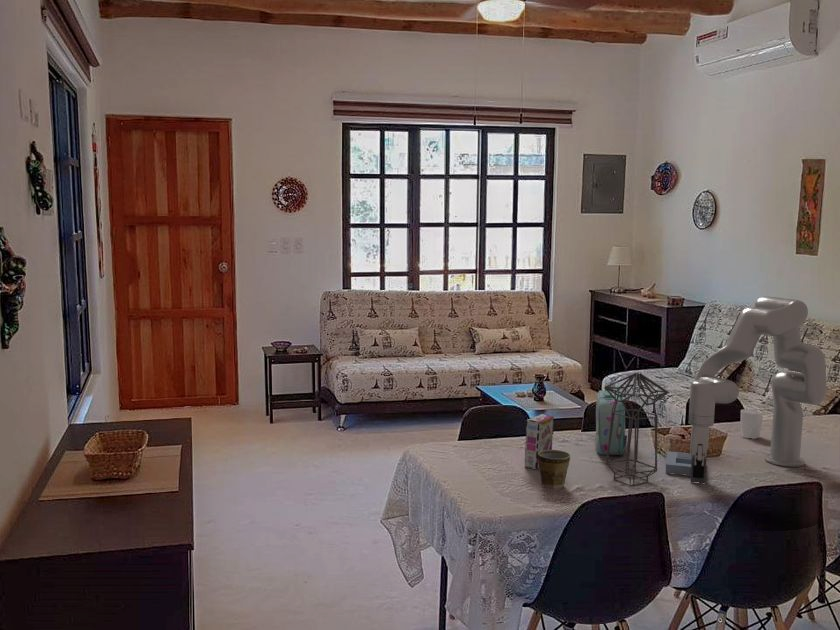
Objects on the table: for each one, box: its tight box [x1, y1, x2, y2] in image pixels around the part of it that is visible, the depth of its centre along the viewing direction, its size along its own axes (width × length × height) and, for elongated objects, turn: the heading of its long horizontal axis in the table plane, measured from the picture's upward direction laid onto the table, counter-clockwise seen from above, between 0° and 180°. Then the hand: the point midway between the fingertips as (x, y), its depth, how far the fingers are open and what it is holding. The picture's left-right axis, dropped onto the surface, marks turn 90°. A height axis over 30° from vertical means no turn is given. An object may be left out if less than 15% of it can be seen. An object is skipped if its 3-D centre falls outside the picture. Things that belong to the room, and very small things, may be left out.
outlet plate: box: [664, 451, 692, 476], centre depth 274 cm, size 16×12×3 cm
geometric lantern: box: [603, 372, 670, 487], centre depth 259 cm, size 16×16×35 cm
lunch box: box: [594, 389, 628, 456], centre depth 294 cm, size 27×10×21 cm, turn 170°
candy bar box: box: [524, 413, 555, 470], centre depth 274 cm, size 11×5×16 cm, turn 145°
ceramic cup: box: [538, 449, 571, 489], centre depth 255 cm, size 13×10×10 cm
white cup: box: [740, 408, 764, 440], centre depth 314 cm, size 8×8×10 cm
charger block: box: [689, 455, 707, 484], centre depth 260 cm, size 4×4×8 cm
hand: (698, 474), depth 260 cm, fingers closed on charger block, 4 cm apart
